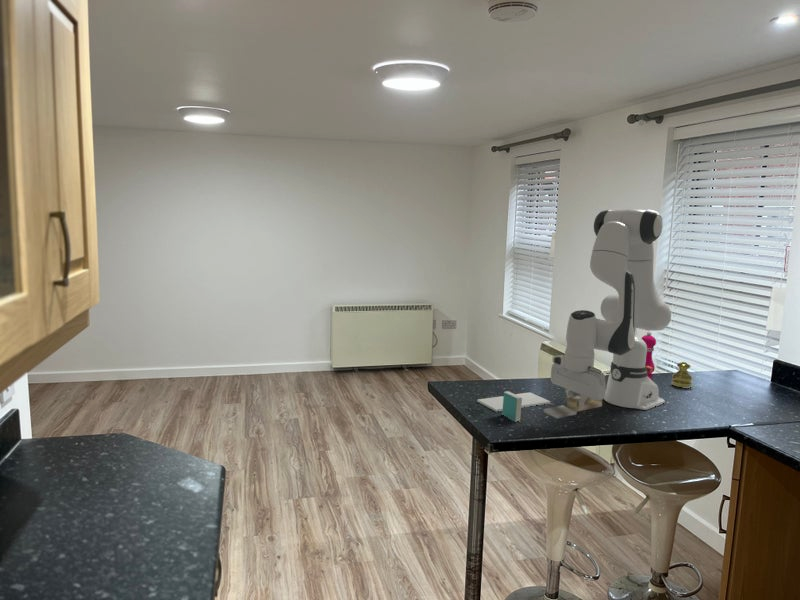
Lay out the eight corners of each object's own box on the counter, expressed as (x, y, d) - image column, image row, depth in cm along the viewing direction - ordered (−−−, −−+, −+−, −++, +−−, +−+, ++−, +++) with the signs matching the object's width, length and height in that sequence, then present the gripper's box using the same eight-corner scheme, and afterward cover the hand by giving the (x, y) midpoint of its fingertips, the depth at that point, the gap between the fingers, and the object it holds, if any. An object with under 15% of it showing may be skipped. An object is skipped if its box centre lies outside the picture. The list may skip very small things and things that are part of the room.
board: (529, 394, 219) (530, 392, 219) (550, 403, 209) (550, 401, 209) (477, 401, 208) (477, 399, 207) (496, 411, 198) (496, 409, 198)
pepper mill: (655, 381, 245) (660, 334, 242) (636, 379, 246) (642, 332, 243) (651, 376, 252) (656, 330, 249) (633, 374, 254) (638, 329, 250)
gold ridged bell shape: (667, 383, 243) (670, 359, 241) (684, 383, 244) (687, 360, 242) (677, 389, 236) (680, 364, 234) (695, 389, 236) (698, 365, 235)
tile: (506, 414, 196) (508, 391, 195) (520, 421, 190) (522, 397, 189) (501, 415, 195) (503, 391, 194) (515, 422, 189) (517, 398, 188)
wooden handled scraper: (591, 402, 194) (592, 390, 193) (606, 408, 189) (607, 396, 188) (543, 412, 184) (544, 399, 183) (557, 418, 179) (558, 405, 178)
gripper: (612, 370, 176) (608, 414, 179) (563, 353, 194) (560, 394, 196) (597, 373, 173) (593, 417, 176) (548, 356, 191) (545, 396, 193)
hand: (575, 405), depth 186 cm, fingers closed on wooden handled scraper, 2 cm apart
